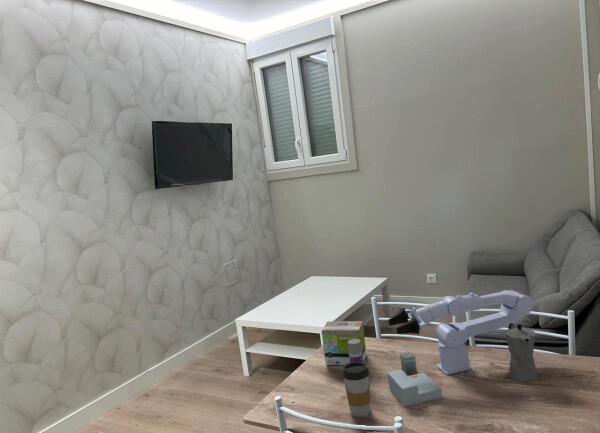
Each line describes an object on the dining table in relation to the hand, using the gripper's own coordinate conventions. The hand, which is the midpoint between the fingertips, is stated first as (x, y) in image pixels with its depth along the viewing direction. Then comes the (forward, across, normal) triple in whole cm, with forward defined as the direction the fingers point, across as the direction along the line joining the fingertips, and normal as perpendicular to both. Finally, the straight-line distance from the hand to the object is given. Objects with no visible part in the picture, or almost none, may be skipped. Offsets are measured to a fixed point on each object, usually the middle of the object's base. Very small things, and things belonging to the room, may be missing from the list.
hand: (392, 326), depth 160 cm
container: (+16, -3, +17) cm, 24 cm away
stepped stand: (+3, +12, +18) cm, 22 cm away
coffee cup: (+21, +16, +16) cm, 31 cm away
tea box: (+16, -21, +18) cm, 33 cm away
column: (-2, -3, +20) cm, 21 cm away
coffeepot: (-35, +14, +25) cm, 45 cm away
